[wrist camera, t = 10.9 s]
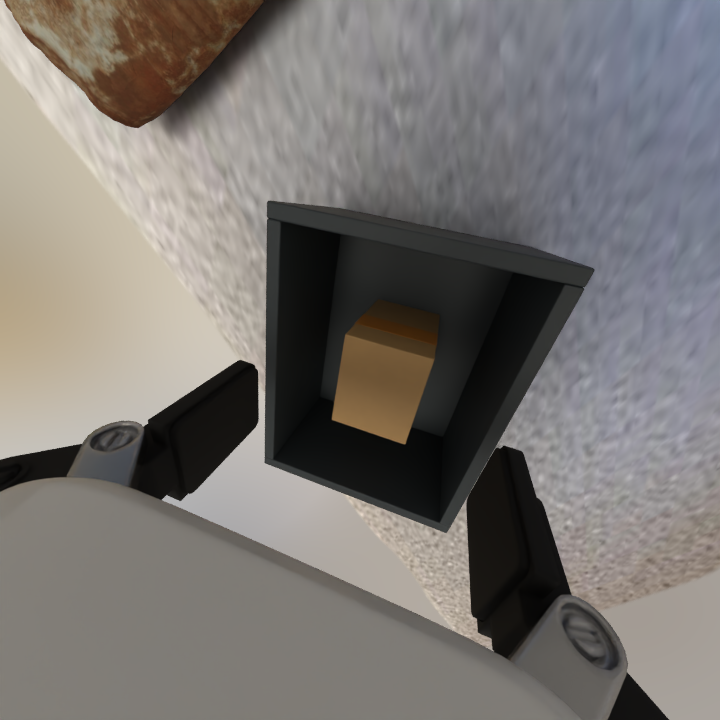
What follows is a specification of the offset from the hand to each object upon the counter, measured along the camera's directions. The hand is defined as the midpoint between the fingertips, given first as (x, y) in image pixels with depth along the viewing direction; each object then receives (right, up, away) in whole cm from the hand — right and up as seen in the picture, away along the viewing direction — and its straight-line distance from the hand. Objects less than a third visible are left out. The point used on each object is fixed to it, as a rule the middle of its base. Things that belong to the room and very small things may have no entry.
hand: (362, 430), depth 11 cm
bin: (+3, +4, +9) cm, 10 cm away
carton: (+3, +4, +8) cm, 9 cm away
